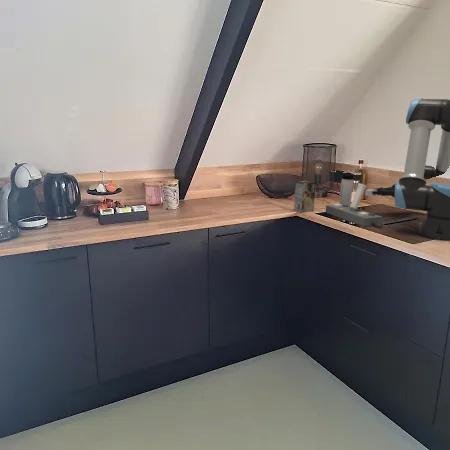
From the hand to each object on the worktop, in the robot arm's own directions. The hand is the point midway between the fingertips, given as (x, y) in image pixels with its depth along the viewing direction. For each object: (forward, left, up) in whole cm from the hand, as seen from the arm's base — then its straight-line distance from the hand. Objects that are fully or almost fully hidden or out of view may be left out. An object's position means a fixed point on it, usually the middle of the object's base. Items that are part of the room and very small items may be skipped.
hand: (366, 192), depth 219 cm
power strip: (-3, +8, -13) cm, 15 cm away
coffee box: (+22, +23, -13) cm, 34 cm away
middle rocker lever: (0, +8, -8) cm, 11 cm away
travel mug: (+22, -5, -13) cm, 26 cm away
